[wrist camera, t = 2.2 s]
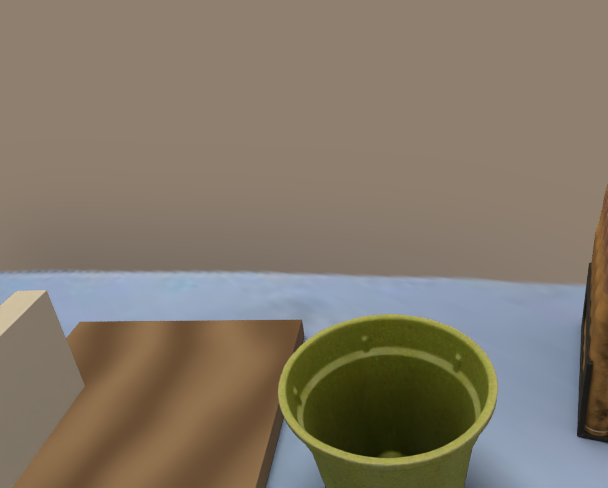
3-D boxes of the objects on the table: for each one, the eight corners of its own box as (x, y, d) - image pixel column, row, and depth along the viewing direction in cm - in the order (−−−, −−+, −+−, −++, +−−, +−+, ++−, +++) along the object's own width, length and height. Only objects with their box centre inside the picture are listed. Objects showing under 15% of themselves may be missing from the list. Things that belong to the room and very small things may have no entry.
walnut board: (-53, 512, 32) (-64, 495, 32) (85, 336, 46) (79, 321, 46) (253, 533, 29) (248, 514, 28) (304, 336, 43) (301, 319, 42)
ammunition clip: (581, 323, 40) (601, 160, 34) (611, 327, 39) (636, 161, 34) (577, 437, 32) (601, 246, 26) (615, 444, 31) (649, 250, 25)
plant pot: (417, 650, 23) (408, 509, 19) (266, 517, 30) (235, 389, 26) (528, 497, 29) (539, 361, 25) (380, 412, 35) (369, 293, 31)
